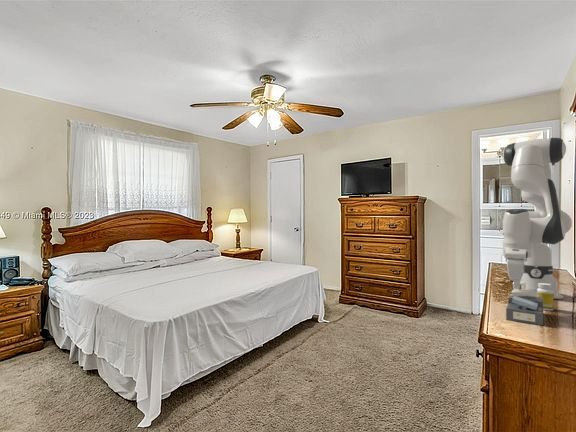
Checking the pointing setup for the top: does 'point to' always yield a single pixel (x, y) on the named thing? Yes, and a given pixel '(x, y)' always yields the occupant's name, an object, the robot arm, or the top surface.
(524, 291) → the rocker rear
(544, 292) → the supplement bottle
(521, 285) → the milkshake
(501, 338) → the top surface
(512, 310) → the console
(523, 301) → the rocker front
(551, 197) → the robot arm
